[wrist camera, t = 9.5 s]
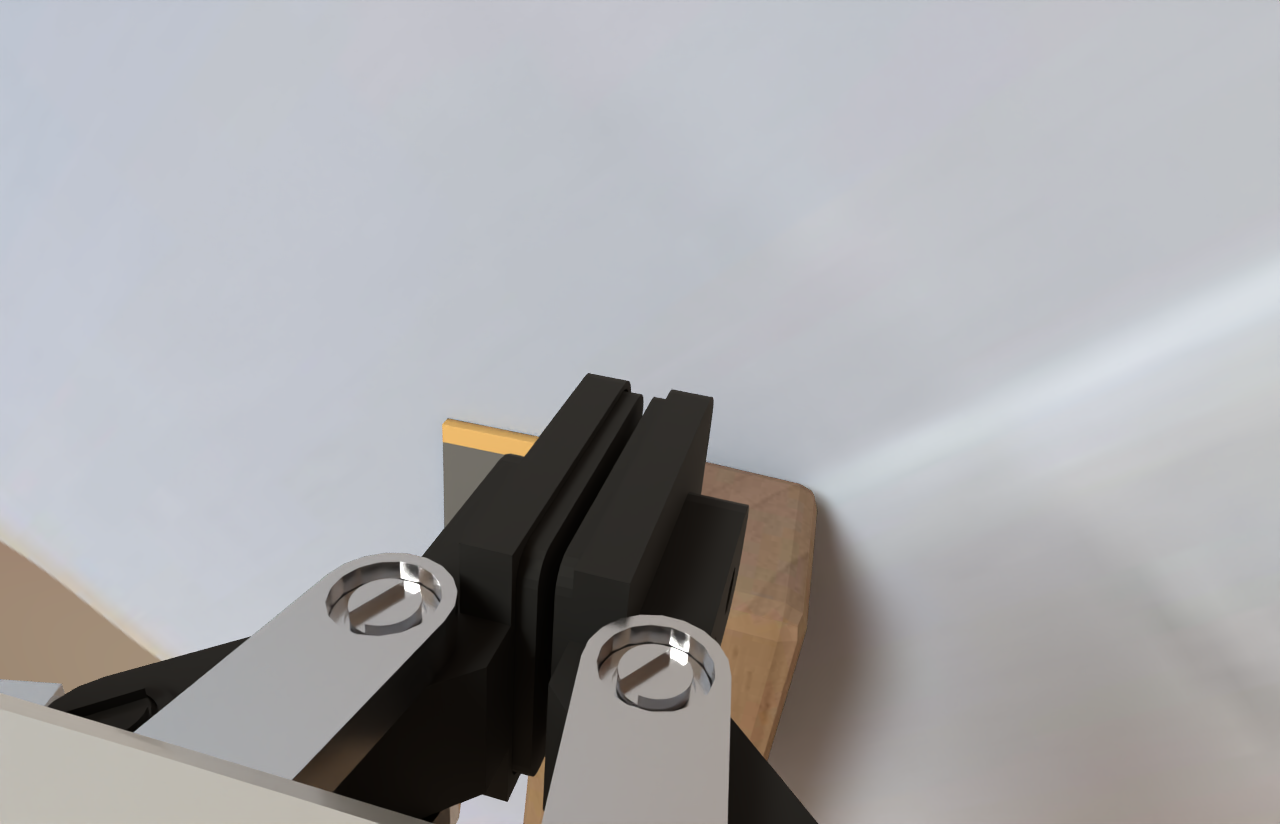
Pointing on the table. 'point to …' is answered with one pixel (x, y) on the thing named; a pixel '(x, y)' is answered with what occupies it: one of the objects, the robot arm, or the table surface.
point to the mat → (474, 458)
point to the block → (755, 604)
